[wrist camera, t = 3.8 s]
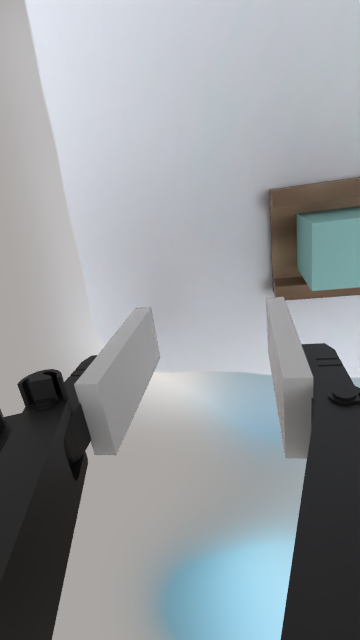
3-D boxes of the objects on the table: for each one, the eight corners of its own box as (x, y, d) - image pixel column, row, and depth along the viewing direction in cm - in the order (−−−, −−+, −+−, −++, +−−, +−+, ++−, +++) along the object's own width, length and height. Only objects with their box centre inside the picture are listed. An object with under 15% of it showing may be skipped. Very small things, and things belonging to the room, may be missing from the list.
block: (296, 213, 31) (312, 223, 24) (371, 204, 30) (409, 211, 23) (297, 268, 33) (311, 291, 26) (367, 261, 32) (402, 283, 25)
